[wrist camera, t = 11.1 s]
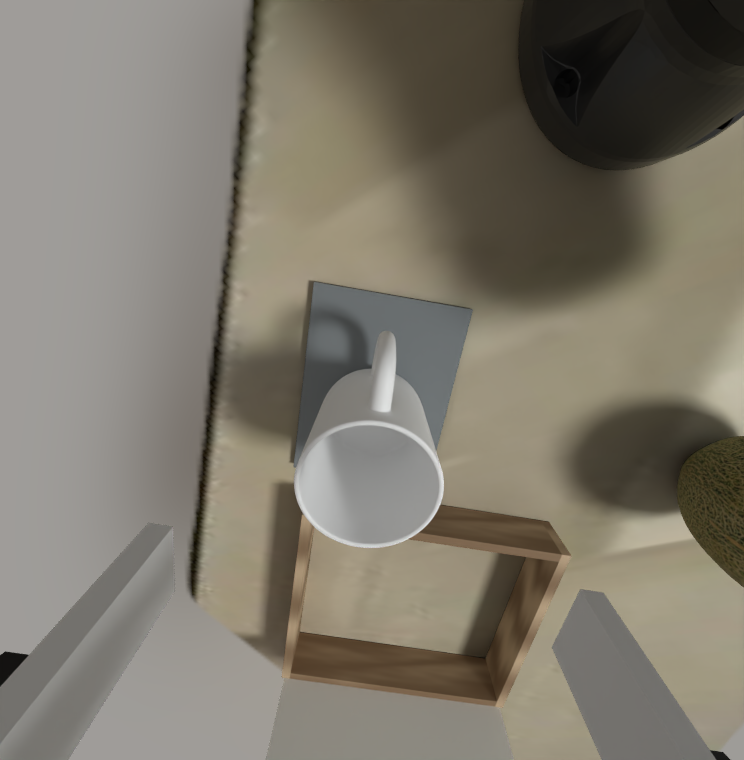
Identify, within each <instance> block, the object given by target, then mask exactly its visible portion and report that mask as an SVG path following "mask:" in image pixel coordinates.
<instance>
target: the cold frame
mask: <svg viewBox="0 0 744 760" xmlns="http://www.w3.org/2000/svg"><path fill="white" fill-rule="evenodd" d="M313 532H314V526H313V525H312V524H311V523H310V522H309V521H308V520H307V518H306V517H305V515H304V514H303V513H302V519H301V527H300V535H299V543H298V551H297V559H296V567H295V575H294V583H293V591H292V599H291V607H290V615H289V623H288V631H287V639H286V647H285V655H284V663H283V671H282V678H289V679H296V680H303V681H311V682H318V683H325V684H333V685H340V686H347V687H355V688H362V689H369V690H377V691H384V692H391V693H398V694H406V695H413V696H420V697H428V698H435V699H442V700H450V701H457V702H464V703H472V704H479V705H486V706H493V707H501V708H503V706H504V704H505V701H506V699H507V697H508V695H509V693H510V690H511V688H512V686H513V684H514V682H515V679H516V677H517V675H518V673H519V671H520V668H521V666H522V664H523V662H524V660H525V657H526V655H527V653H528V651H529V649H530V646H531V644H532V642H533V640H534V638H535V635H536V633H537V631H538V629H539V627H540V624H541V622H542V620H543V618H544V616H545V613H546V611H547V609H548V607H549V605H550V602H551V600H552V598H553V596H554V594H555V591H556V589H557V587H558V585H559V583H560V580H561V578H562V576H563V574H564V572H565V569H566V567H567V565H568V563H569V561H570V558H571V555H570V553H569V552H568V550H567V548H566V547H565V545H564V544H563V542H562V541H561V539H560V538H559V536H558V535H557V533H556V532H555V530H554V529H553V527H552V526H551V524H550V523H549V522H546V521H540V520H533V519H527V518H520V517H514V516H508V515H501V514H495V513H488V512H482V511H475V510H469V509H463V508H456V507H450V506H443V505H440V506H439V508H438V510H437V512H436V514H435V516H434V517H433V519H432V520H431V521H430V522H429V523H428V525H427V526H426V527H425V528H423V529H422V530H421V531H420V532H419V533H417V534H416V535H414V536H413V537H411V538H409V539H411V540H417V541H424V542H430V543H437V544H444V545H450V546H457V547H463V548H470V549H476V550H483V551H490V552H496V553H503V554H509V555H516V556H522V557H526V559H525V561H524V564H523V566H522V569H521V571H520V574H519V576H518V579H517V581H516V584H515V586H514V589H513V591H512V594H511V596H510V599H509V601H508V604H507V606H506V609H505V611H504V614H503V616H502V619H501V621H500V624H499V626H498V629H497V631H496V634H495V636H494V639H493V641H492V644H491V646H490V649H489V651H488V654H487V656H486V659H485V658H478V657H471V656H464V655H457V654H450V653H443V652H436V651H429V650H422V649H415V648H408V647H401V646H394V645H386V644H379V643H372V642H365V641H358V640H351V639H344V638H337V637H330V636H323V635H316V634H309V633H302V632H299V631H300V624H301V617H302V610H303V603H304V596H305V589H306V582H307V575H308V568H309V561H310V553H311V546H312V539H313Z"/></svg>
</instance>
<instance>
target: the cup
mask: <svg viewBox="0 0 744 760" xmlns="http://www.w3.org/2000/svg"><path fill="white" fill-rule="evenodd" d="M395 373H396V341H395V337H394V335H393V333H391V332H390V331H383V332H381V333H380V335H379V337H378V339H377V343H376V348H375V353H374V358H373V363H372V368H371V369H362V370H358V371H354V372H352V373H349V374H347V375H346V376H344V377H342V378H341V379H340V380H338V381H337V382H336V383H335V384H334V385H333V386H332V388H331V389H330V390H329V392H328V393H327V395H326V397H325V399H324V401H323V403H322V405H321V408H320V410H319V413H318V415H317V417H316V420H315V422H314V425H313V427H312V430H311V432H310V434H309V437H308V439H307V442H306V444H305V446H304V449H303V451H302V454H301V456H300V458H299V461H298V463H297V466H296V470H295V475H294V490H295V495H296V499H297V502H298V504H299V507H300V509H301V511H302V512H303V514H304V515H305V517H306V518H307V520H308V521H309V522H310V523H311V524H312V525H313V526H314V527H315V528H316V529H317V530H319V531H320V532H321V533H323V534H324V535H326V536H327V537H329V538H331V539H333V540H335V541H338V542H340V543H343V544H346V545H350V546H355V547H362V548H379V547H386V546H390V545H394V544H397V543H400V542H403V541H405V540H407V539H409V538H411V537H413V536H414V535H416V534H417V533H419V532H420V531H421V530H422V529H423V528H425V527H426V526H427V525H428V523H429V522H430V521H431V520H432V519H433V517H434V516H435V514H436V512H437V510H438V508H439V506H440V504H441V501H442V497H443V491H444V479H443V473H442V469H441V466H440V462H439V459H438V456H437V453H436V449H435V446H434V443H433V439H432V436H431V433H430V429H429V426H428V423H427V420H426V416H425V413H424V410H423V406H422V404H421V401H420V399H419V397H418V395H417V393H416V392H415V390H414V389H413V388H412V386H411V385H410V384H409V383H408V382H407V381H406V380H404V379H403V378H402V377H400V376H398V375H396V374H395Z"/></svg>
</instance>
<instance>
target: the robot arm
mask: <svg viewBox="0 0 744 760" xmlns="http://www.w3.org/2000/svg"><path fill="white" fill-rule="evenodd" d="M519 66H520V74H521V81H522V85H523V89H524V93H525V96H526V100H527V103H528V105H529V108H530V110H531V112H532V114H533V116H534V119H535V120H536V122H537V124H538V125H539V127H540V128H541V130H542V131H543V133H544V134H545V135H546V136H547V138H548V139H549V140H550V141H551V142H552V143H553V144H554V145H555V146H556V147H557V148H558V149H559V150H561V151H562V152H563V153H565V154H566V155H568V156H569V157H571V158H573V159H574V160H576V161H578V162H581V163H583V164H586V165H589V166H592V167H596V168H600V169H607V170H627V169H635V168H640V167H645V166H648V165H652V164H655V163H658V162H660V161H663V160H666V159H668V158H671V157H674V156H676V155H679V154H682V153H684V152H686V151H689V150H691V149H693V148H695V147H697V146H699V145H701V144H703V143H705V142H707V141H708V140H710V139H712V138H713V137H715V136H717V135H718V134H720V133H721V132H723V131H724V130H726V129H727V128H728V127H730V126H731V125H732V124H734V123H735V122H736V121H738V120H739V119H740V118H741V117H742V116H743V115H744V0H524V5H523V10H522V15H521V22H520V31H519ZM173 539H174V537H173V526H167V525H160V524H153V523H148V524H147V525H146V526H145V527H144V528H143V529H142V531H141V532H140V533H139V534H138V535H137V536H136V537H135V538H134V539H133V541H132V542H131V543H130V544H129V545H128V546H127V547H126V549H124V551H123V552H122V553H121V554H120V555H119V556H118V557H117V558H116V559H115V560H114V562H113V563H112V564H111V565H110V566H109V567H108V568H107V569H106V571H105V572H104V573H103V574H102V575H101V576H100V577H99V578H98V579H97V580H96V581H95V583H94V584H93V585H92V586H91V587H90V588H89V589H88V590H87V592H86V593H85V594H84V595H83V596H82V597H81V598H80V599H79V601H77V602H76V604H75V605H74V606H73V607H72V608H71V609H70V610H69V611H68V612H67V614H66V615H65V616H64V617H63V618H62V619H61V620H60V621H59V623H58V624H57V625H56V626H55V627H54V628H53V629H52V630H51V631H50V632H49V633H48V635H47V636H46V637H45V638H44V639H43V640H42V641H41V642H40V644H39V645H38V646H37V647H36V648H35V649H34V650H33V651H32V653H31V654H30V655H26V654H19V653H11V652H4V653H3V654H1V655H0V760H68V759H69V757H70V756H71V754H72V753H73V751H74V750H75V748H76V747H77V745H78V743H79V742H80V740H81V739H82V737H83V736H84V734H85V732H86V731H87V729H88V728H89V726H90V725H91V723H92V721H93V720H94V718H95V716H96V715H97V713H98V712H99V710H100V709H101V707H102V706H103V704H104V702H105V701H106V699H107V698H108V696H109V695H110V693H111V691H112V690H113V688H114V687H115V685H116V683H117V682H118V680H119V679H120V677H121V676H122V674H123V672H124V671H125V669H126V668H127V666H128V665H129V663H130V661H131V660H132V658H133V657H134V655H135V653H136V652H137V650H138V649H139V647H140V646H141V644H142V642H143V641H144V639H145V638H146V636H147V635H148V633H149V631H150V630H151V628H152V627H153V625H154V623H155V622H156V620H157V619H158V617H159V616H160V614H161V612H162V611H163V609H164V608H165V606H166V605H167V603H168V601H169V600H170V598H171V597H172V595H173V593H174V592H175V579H174V540H173ZM552 649H553V651H554V653H555V656H556V658H557V660H558V662H559V665H560V667H561V669H562V671H563V674H564V676H565V678H566V680H567V683H568V685H569V687H570V689H571V692H572V694H573V696H574V698H575V701H576V703H577V705H578V707H579V710H580V712H581V714H582V716H583V719H584V721H585V723H586V725H587V728H588V730H589V732H590V734H591V737H592V739H593V741H594V743H595V746H596V748H597V750H598V752H599V755H600V757H601V759H602V760H730V759H729V758H728V757H727V756H726V755H725V754H724V753H723V752H718V751H711V750H709V748H708V747H707V745H706V744H705V742H704V741H703V739H702V738H701V736H700V735H699V733H698V732H697V731H696V729H695V728H694V726H693V725H692V723H691V722H690V720H689V719H688V717H687V716H686V714H685V713H684V711H683V710H682V708H681V707H680V705H679V704H678V702H677V701H676V699H675V698H674V696H673V695H672V694H671V692H670V691H669V689H668V688H667V686H666V685H665V683H664V682H663V680H662V679H661V677H660V676H659V674H658V673H657V671H656V670H655V668H654V667H653V665H652V664H651V662H650V661H649V659H648V658H647V656H646V655H645V654H644V652H643V651H642V649H641V648H640V646H639V645H638V643H637V642H636V640H635V639H634V637H633V636H632V634H631V633H630V631H629V630H628V628H627V627H626V625H625V624H624V622H623V621H622V619H621V618H620V617H619V615H618V614H617V612H616V611H615V609H614V608H613V606H612V605H611V603H610V602H609V600H608V599H607V597H606V596H605V594H604V593H602V592H596V591H589V590H583V589H580V591H579V593H578V595H577V597H576V599H575V601H574V603H573V605H572V607H571V609H570V611H569V614H568V616H567V618H566V620H565V622H564V624H563V626H562V628H561V630H560V632H559V634H558V636H557V638H556V640H555V642H554V644H553V646H552Z"/></svg>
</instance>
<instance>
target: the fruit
mask: <svg viewBox="0 0 744 760" xmlns="http://www.w3.org/2000/svg"><path fill="white" fill-rule="evenodd" d="M677 498H678V505H679V508H680V512H681V514H682V517H683V519H684V521H685V524H686V525H687V527H688V529H689V530H690V532H691V534H692V535H693V537H694V538H695V539H696V541H697V542H698V543H699V544H700V546H701V547H702V548H703V549H704V550H705V551H706V553H707V554H708V555H709V556H710V557H711V558H712V559H713V560H714V561H715V562H716V563H717V564H718V565H719V566H720V567H721V568H722V569H723V570H724V571H725V572H726V573H727V574H728V575H729V576H730V577H731V578H733V579H734V580H735V581H736V582H738V583H739V584H740V585H741V586H742V587H744V436H738V437H730V438H726V439H723V440H720V441H717V442H715V443H713V444H710V445H708V446H706V447H704V448H702V449H700V450H698V451H697V452H695V453H694V454H692V455H691V456H690V457H689V458H688V459H687V460H686V461H685V463H684V464H683V466H682V468H681V471H680V474H679V479H678V486H677Z"/></svg>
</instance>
